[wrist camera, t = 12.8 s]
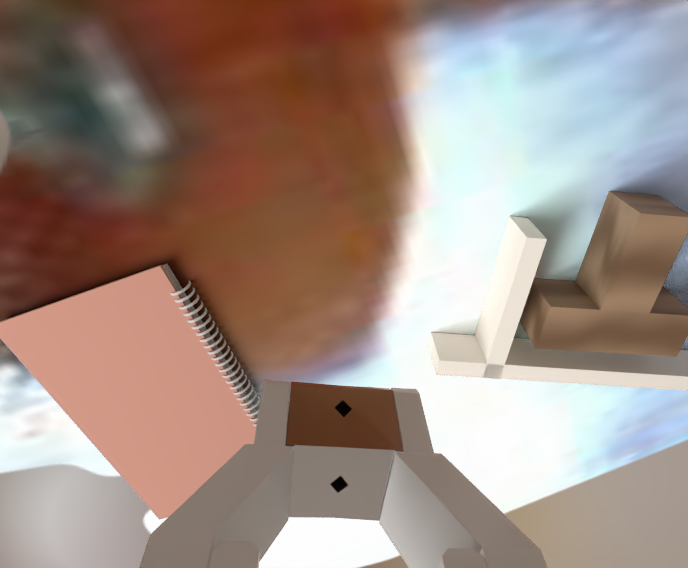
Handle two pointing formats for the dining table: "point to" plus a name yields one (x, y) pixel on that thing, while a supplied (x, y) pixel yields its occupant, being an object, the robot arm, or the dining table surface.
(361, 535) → the dining table surface
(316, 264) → the dining table surface
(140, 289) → the notebook
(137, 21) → the dining table surface
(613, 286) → the t block
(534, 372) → the corner fence
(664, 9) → the dining table surface
